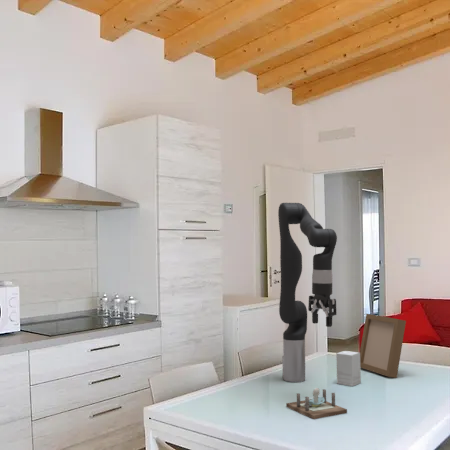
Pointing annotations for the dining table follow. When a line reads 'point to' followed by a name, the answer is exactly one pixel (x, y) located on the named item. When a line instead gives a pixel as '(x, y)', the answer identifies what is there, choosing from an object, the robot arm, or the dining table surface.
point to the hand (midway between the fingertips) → (321, 324)
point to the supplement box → (348, 368)
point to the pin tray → (316, 412)
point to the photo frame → (382, 344)
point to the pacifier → (316, 399)
